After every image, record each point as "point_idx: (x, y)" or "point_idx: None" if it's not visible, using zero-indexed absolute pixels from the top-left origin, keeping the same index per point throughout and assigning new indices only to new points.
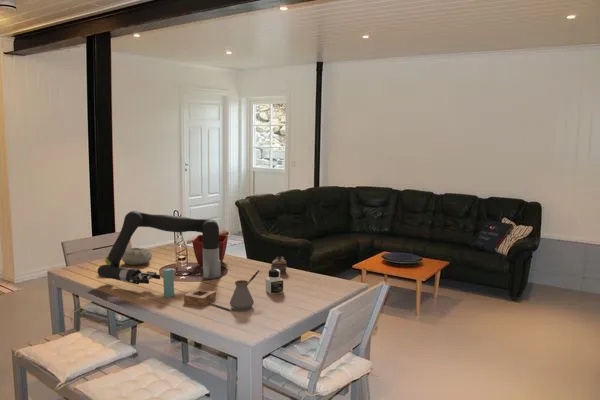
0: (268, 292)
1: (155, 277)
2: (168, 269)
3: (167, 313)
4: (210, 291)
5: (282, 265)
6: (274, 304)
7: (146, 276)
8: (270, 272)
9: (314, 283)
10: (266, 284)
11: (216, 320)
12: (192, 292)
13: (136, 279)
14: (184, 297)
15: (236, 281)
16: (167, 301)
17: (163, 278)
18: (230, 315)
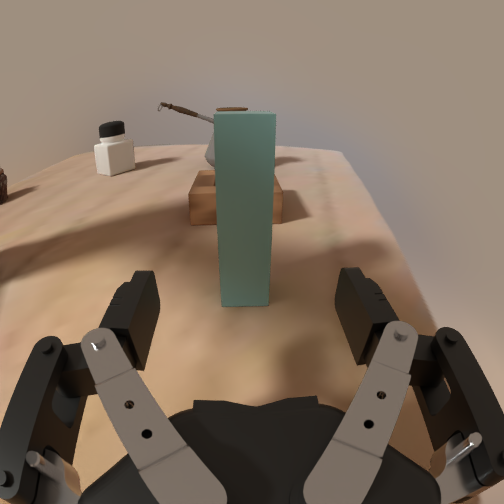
0: (124, 171)
1: (144, 339)
2: (241, 112)
3: (381, 219)
4: (203, 174)
5: (4, 174)
6: (189, 158)
7: (220, 408)
8: (121, 123)
9: (69, 167)
10: (113, 158)
11: (318, 171)
12: None
13: (464, 347)
14: (282, 201)
15: (232, 108)
16: (312, 261)
17: (273, 184)
18: (280, 167)
